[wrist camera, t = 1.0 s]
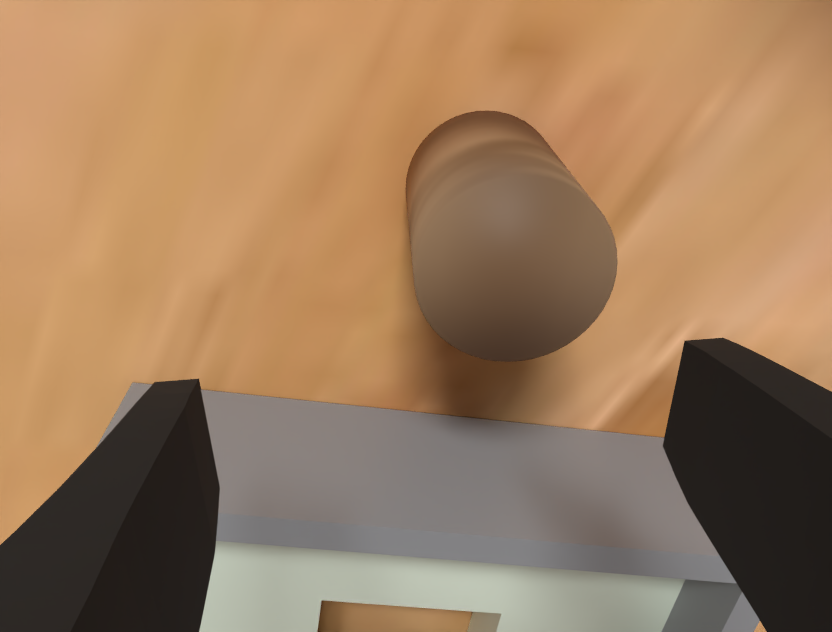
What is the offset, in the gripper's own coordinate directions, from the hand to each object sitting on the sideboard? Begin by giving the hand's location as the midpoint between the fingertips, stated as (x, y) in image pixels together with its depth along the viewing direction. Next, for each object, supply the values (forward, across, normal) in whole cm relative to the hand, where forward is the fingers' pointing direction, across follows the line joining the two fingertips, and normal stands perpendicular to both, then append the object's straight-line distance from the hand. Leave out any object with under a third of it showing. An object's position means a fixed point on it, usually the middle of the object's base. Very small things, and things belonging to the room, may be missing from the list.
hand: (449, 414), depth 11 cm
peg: (+11, -3, +1) cm, 11 cm away
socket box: (+11, 0, +17) cm, 20 cm away
